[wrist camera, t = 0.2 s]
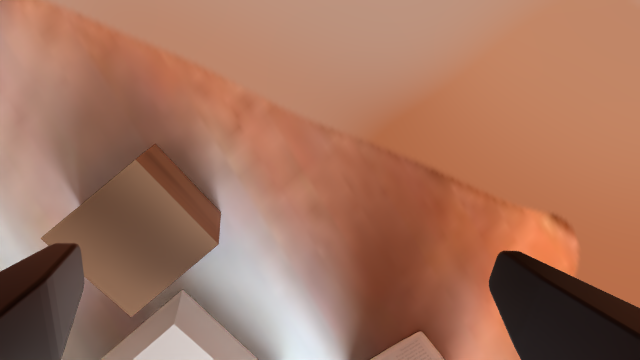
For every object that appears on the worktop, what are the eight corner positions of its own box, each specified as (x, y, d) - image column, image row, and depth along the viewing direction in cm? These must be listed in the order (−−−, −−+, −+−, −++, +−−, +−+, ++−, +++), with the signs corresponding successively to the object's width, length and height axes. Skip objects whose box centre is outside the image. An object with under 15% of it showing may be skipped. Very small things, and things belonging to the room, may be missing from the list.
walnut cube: (151, 270, 24) (131, 317, 19) (81, 205, 22) (40, 238, 18) (220, 212, 24) (218, 244, 19) (155, 143, 22) (135, 159, 18)
